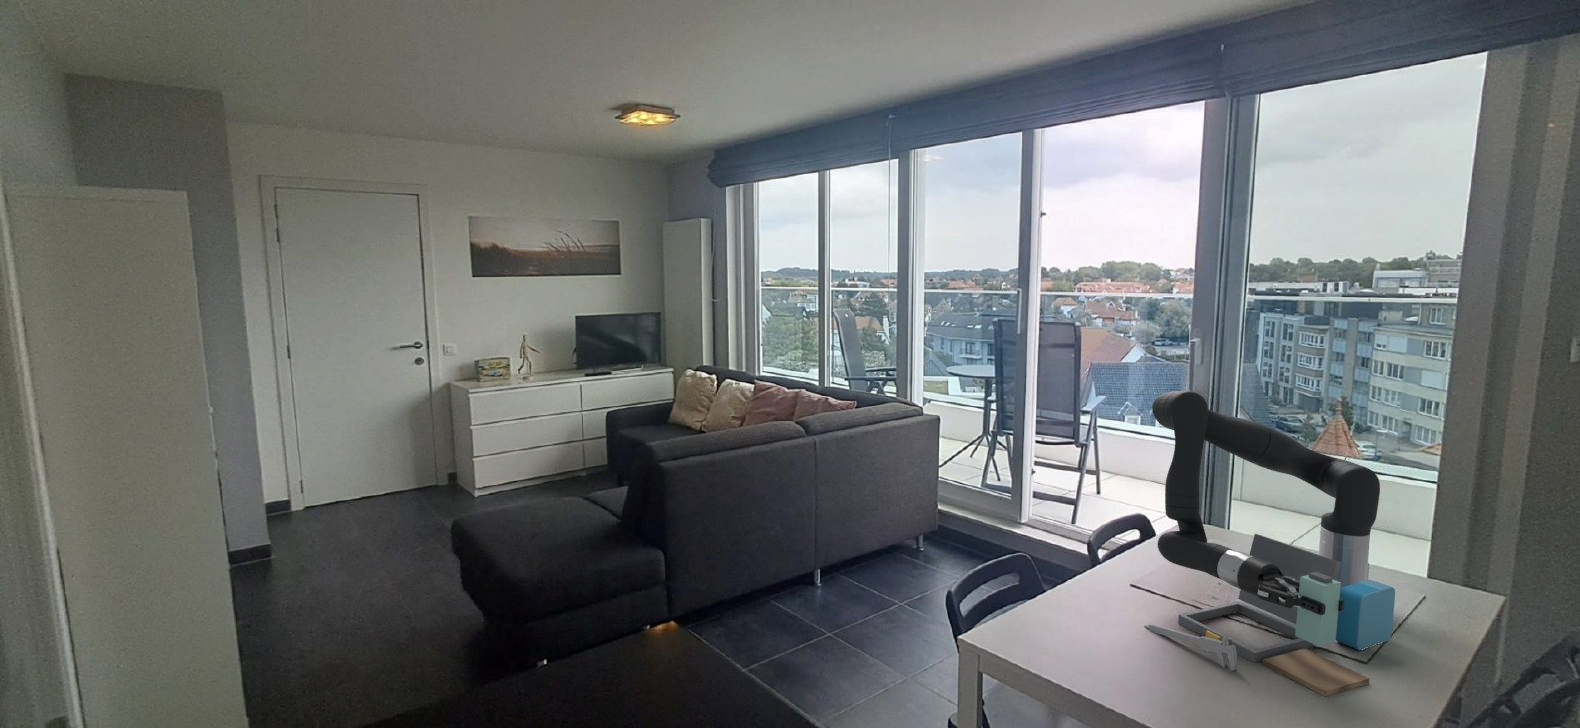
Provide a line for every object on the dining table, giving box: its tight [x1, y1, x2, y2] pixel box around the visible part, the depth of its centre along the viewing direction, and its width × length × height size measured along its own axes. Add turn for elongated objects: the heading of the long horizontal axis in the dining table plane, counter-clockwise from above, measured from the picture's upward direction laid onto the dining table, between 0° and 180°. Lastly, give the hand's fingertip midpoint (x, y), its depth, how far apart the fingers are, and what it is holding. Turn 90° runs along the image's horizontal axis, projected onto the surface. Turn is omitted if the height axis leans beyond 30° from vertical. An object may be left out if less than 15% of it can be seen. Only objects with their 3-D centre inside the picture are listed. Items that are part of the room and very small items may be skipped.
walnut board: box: [1262, 648, 1370, 697], centre depth 139 cm, size 12×12×1 cm
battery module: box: [1295, 572, 1341, 648], centre depth 138 cm, size 4×4×13 cm
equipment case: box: [1177, 533, 1341, 663], centre depth 154 cm, size 24×19×18 cm
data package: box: [1335, 579, 1396, 651], centre depth 150 cm, size 12×4×12 cm, turn 114°
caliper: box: [1143, 623, 1238, 672], centre depth 149 cm, size 20×1×6 cm, turn 24°
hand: (1333, 608), depth 135 cm, fingers closed on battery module, 4 cm apart
